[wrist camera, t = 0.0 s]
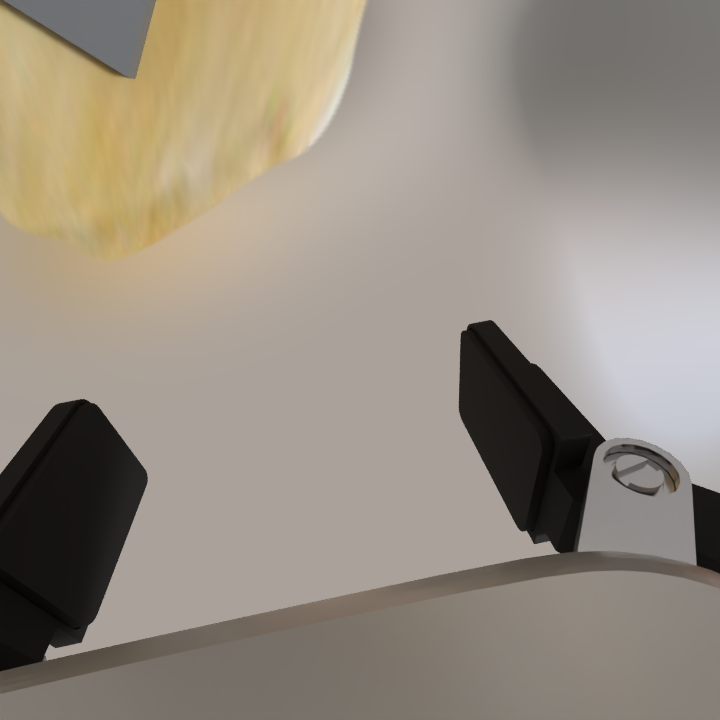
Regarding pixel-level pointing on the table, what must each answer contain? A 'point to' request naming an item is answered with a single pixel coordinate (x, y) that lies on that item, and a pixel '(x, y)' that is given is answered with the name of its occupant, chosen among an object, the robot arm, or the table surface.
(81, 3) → the plate
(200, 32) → the table surface
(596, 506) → the robot arm
